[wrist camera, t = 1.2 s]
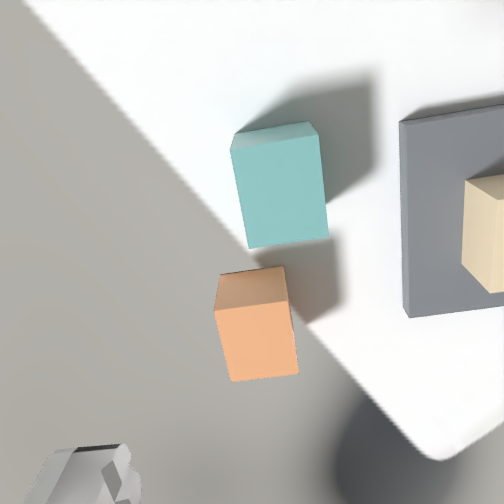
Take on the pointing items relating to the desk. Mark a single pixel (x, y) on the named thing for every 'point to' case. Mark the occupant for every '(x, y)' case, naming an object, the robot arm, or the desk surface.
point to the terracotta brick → (256, 324)
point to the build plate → (452, 211)
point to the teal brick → (280, 184)
